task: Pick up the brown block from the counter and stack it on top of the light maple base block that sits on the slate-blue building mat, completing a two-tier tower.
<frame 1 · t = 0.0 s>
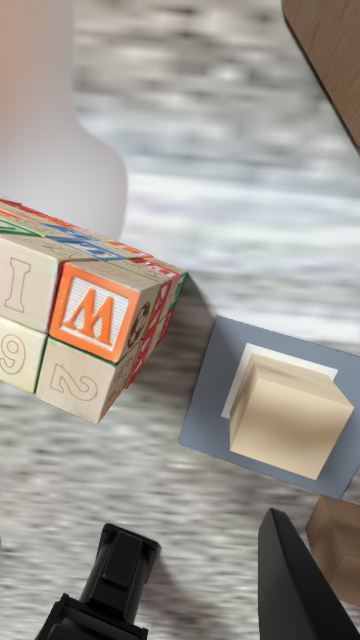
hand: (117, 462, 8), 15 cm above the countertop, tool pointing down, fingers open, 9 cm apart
maple base block: (275, 394, 21), resting on building mat
brown block: (337, 519, 24), on the countertop
stack of blocks: (65, 258, 22), on the countertop
building mat: (280, 410, 22), on the countertop
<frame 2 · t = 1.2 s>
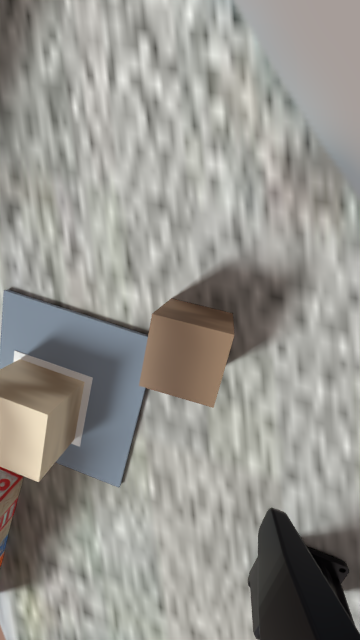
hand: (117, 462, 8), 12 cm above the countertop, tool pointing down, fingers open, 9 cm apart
maple base block: (47, 400, 22), resting on building mat
brown block: (194, 334, 19), on the countertop
building mat: (68, 393, 22), on the countertop
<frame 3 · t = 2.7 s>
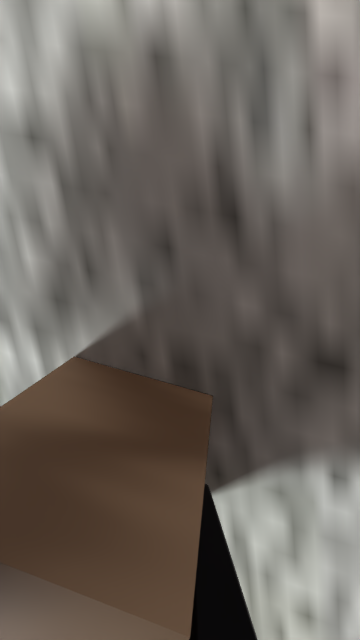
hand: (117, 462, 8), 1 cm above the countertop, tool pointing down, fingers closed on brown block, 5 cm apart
brown block: (130, 434, 8), on the countertop, touching building mat, gripper
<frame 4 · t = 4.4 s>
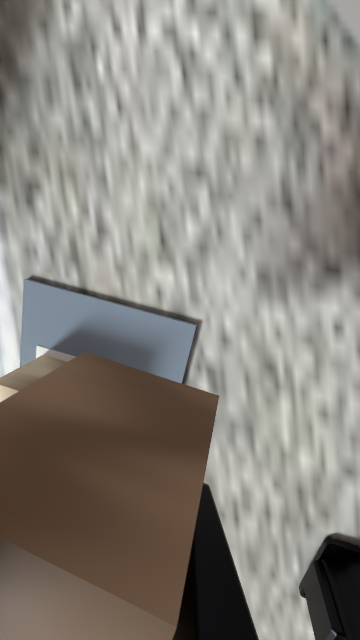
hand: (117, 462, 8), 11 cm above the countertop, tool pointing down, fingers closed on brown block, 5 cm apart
maple base block: (74, 398, 20), resting on building mat
brown block: (136, 431, 9), point 10 cm above the countertop, touching gripper
building mat: (96, 390, 20), on the countertop
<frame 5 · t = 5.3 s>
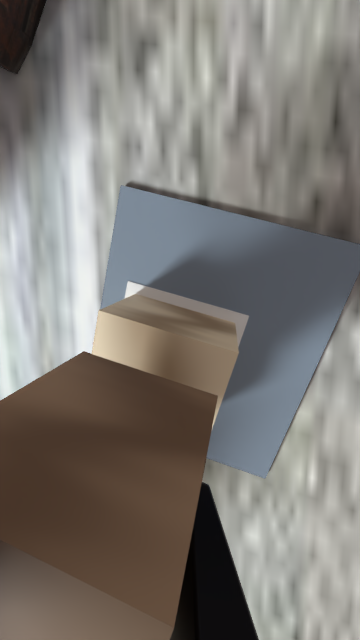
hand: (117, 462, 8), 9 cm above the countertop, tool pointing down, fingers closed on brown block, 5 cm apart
maple base block: (172, 354, 16), resting on building mat
brown block: (135, 431, 9), point 8 cm above the countertop, touching gripper
building mat: (200, 344, 16), on the countertop
when the fingers open (7 cm above the countertop, at t = 5.9 s): brown block stays where it is, resting on maple base block.
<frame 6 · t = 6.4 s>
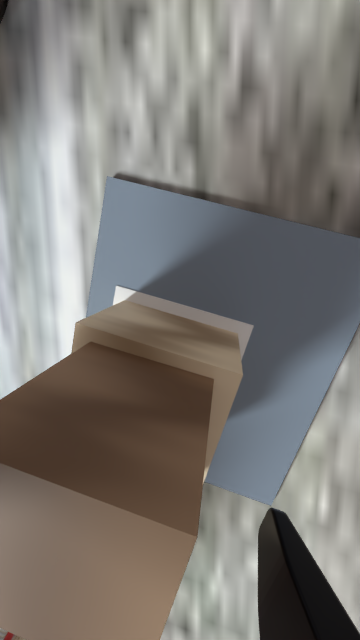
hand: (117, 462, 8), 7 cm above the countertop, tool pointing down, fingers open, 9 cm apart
maple base block: (166, 367, 14), resting on building mat, touching brown block
brown block: (138, 413, 9), point 5 cm above the countertop, touching maple base block
building mat: (198, 356, 14), on the countertop
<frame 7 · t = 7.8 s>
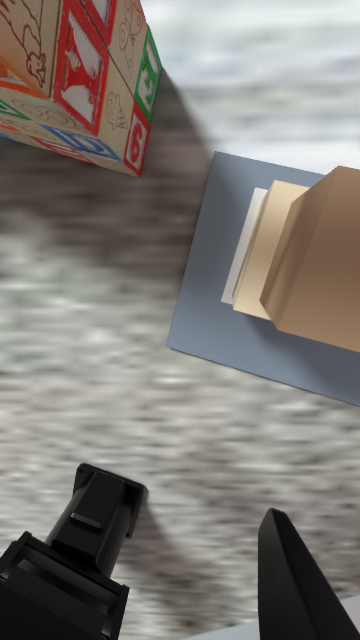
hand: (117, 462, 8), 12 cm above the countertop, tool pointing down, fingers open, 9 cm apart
maple base block: (293, 262, 16), resting on building mat, touching brown block
brown block: (323, 266, 12), point 5 cm above the countertop, touching maple base block
stack of blocks: (5, 88, 17), on the countertop
building mat: (298, 288, 17), on the countertop
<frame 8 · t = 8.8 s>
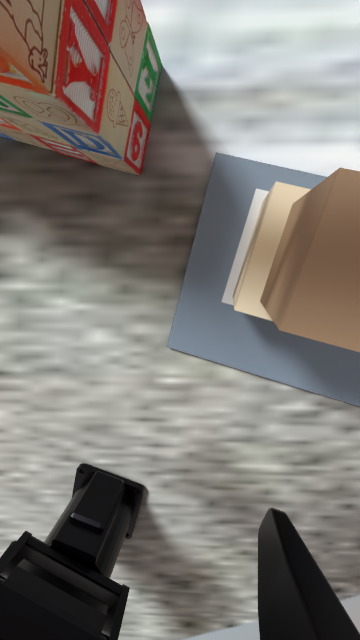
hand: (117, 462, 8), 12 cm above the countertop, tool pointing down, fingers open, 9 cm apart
maple base block: (293, 263, 16), resting on building mat, touching brown block
brown block: (324, 267, 12), point 5 cm above the countertop, touching maple base block
stack of blocks: (6, 89, 17), on the countertop
building mat: (298, 289, 17), on the countertop
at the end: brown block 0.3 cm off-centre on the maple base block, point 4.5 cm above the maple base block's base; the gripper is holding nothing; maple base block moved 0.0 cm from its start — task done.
